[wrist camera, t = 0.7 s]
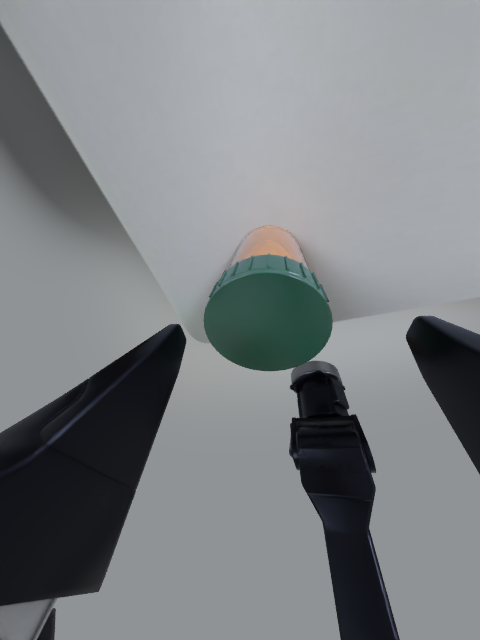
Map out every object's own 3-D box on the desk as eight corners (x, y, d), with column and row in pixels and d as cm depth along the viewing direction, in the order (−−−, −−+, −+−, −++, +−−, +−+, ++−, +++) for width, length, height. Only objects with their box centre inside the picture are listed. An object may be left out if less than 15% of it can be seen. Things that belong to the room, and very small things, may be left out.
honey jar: (270, 298, 20) (270, 375, 12) (225, 265, 19) (191, 328, 11) (315, 254, 17) (352, 321, 9) (263, 209, 15) (256, 244, 8)
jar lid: (270, 358, 14) (270, 385, 12) (195, 311, 12) (182, 335, 11) (348, 301, 10) (365, 327, 9) (257, 224, 9) (253, 236, 7)
